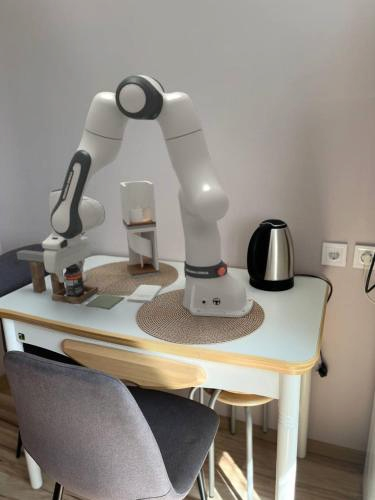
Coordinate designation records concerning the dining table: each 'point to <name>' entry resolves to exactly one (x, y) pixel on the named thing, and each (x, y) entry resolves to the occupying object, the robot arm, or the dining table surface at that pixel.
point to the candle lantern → (140, 227)
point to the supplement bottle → (74, 281)
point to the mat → (105, 301)
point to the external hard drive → (145, 294)
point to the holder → (57, 286)
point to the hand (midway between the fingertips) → (71, 276)
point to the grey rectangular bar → (30, 255)
